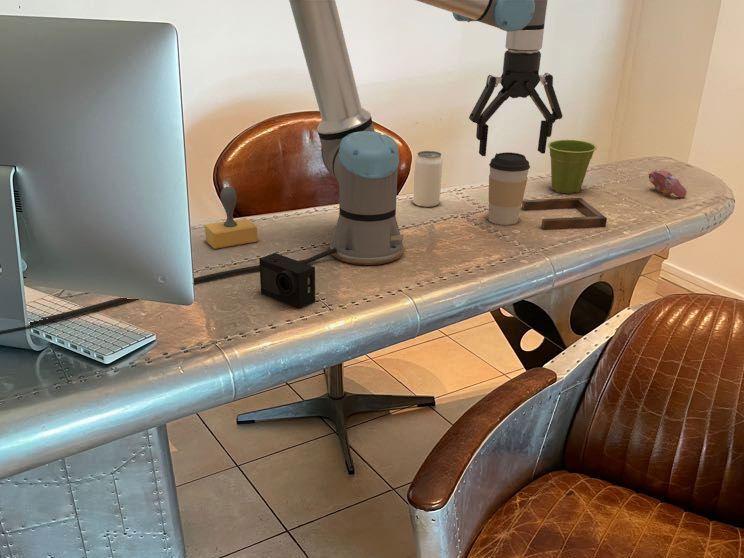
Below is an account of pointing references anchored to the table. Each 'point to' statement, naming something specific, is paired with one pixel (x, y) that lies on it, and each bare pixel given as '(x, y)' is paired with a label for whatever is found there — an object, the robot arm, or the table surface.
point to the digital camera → (287, 280)
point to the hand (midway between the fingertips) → (511, 153)
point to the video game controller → (667, 183)
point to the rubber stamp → (230, 225)
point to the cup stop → (591, 220)
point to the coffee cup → (507, 187)
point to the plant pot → (569, 164)
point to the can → (427, 179)
